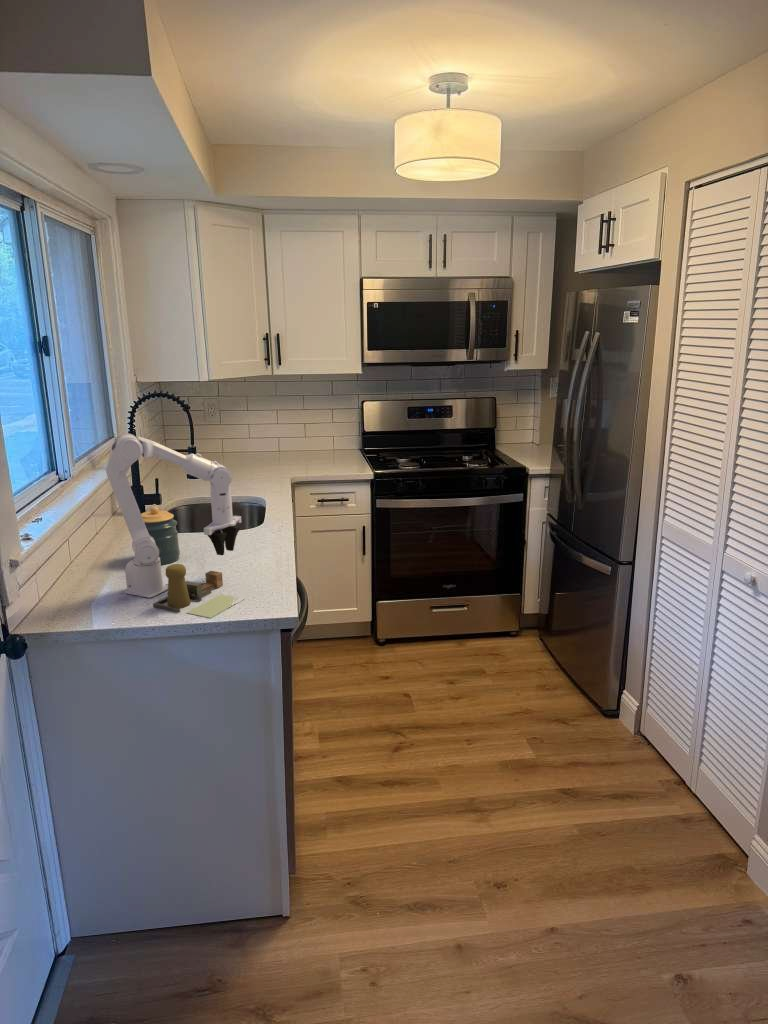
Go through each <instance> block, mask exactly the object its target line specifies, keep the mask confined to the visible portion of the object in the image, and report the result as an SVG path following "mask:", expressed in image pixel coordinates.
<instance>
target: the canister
mask: <svg viewBox="0 0 768 1024" xmlns="http://www.w3.org/2000/svg"><path fill="white" fill-rule="evenodd" d="M141 515H142V518H143V521H144V523H145V526H146V528H147V531H148V533H149V535H150V536H151V537H153V538H154V540H155V543H156V546H157V547H158V549H159V557H160V562H161V566H162V565H167V564H171V563H174V562H176V561H178V560H179V559H180V555H181V551H180V545H179V531H178V530H177V527H176V526H177V525H178V521H177V520H176V519H174V516H175V515H174V514H173V513H171V512H169V511H168V510H162V509H160V508H159V507H158V506H157V505H155V506H154V505H153V506H151V507H150V509H149V511H145V512H142V513H141Z"/></svg>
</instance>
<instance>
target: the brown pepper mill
mask: <svg viewBox="0 0 768 1024" xmlns="http://www.w3.org/2000/svg"><path fill="white" fill-rule="evenodd" d="M186 574H187V569H186V567H185V565H183V564H180V563H175V564H174V563H173V564H170V565H168V566H166V567H165V576H166V578H167V579H168V580H167V581H168V582H167V587H168V590H167V597H168V598H167V603H166V605H170V606H175V607H180V609H184V608H187V607H188V606H190V605H191V600H190V598H189V594H188V589H187V585H186V581H187V580H186V578H185V576H186Z"/></svg>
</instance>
